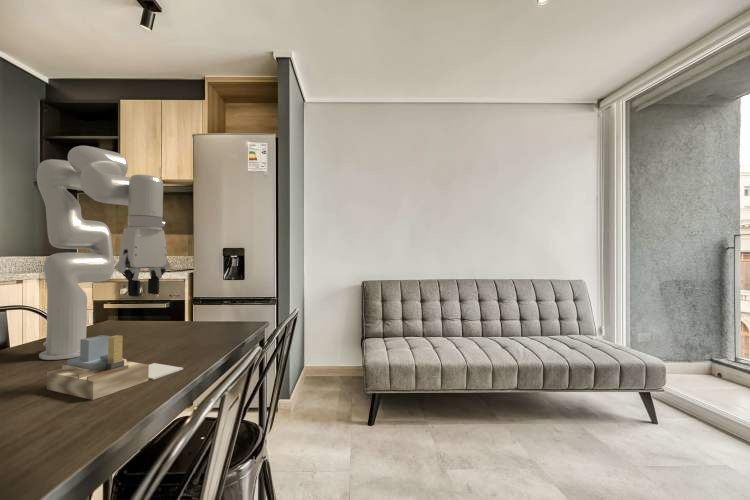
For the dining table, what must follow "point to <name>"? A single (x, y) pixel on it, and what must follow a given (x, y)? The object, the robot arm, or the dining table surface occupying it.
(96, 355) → the cover
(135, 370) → the tan box base
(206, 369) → the dining table surface
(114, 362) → the latch
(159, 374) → the mat
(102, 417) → the dining table surface
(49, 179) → the robot arm
